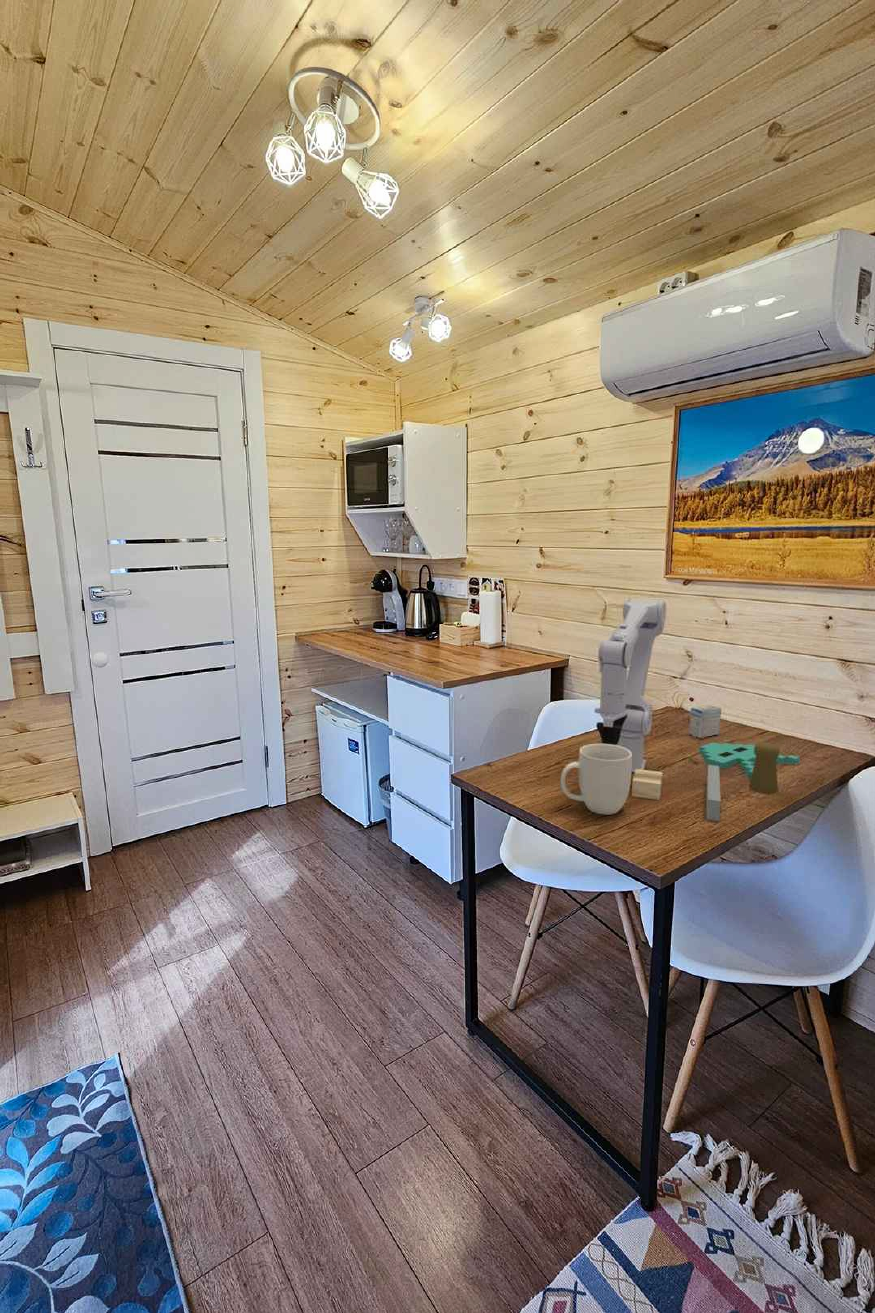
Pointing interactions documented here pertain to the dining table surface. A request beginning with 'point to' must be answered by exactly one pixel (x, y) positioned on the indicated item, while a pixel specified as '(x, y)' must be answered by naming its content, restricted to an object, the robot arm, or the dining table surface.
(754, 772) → the cork
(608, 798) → the mug
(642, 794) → the maple block
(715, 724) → the medicine box
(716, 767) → the board
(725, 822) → the dining table surface
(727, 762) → the alien figure
